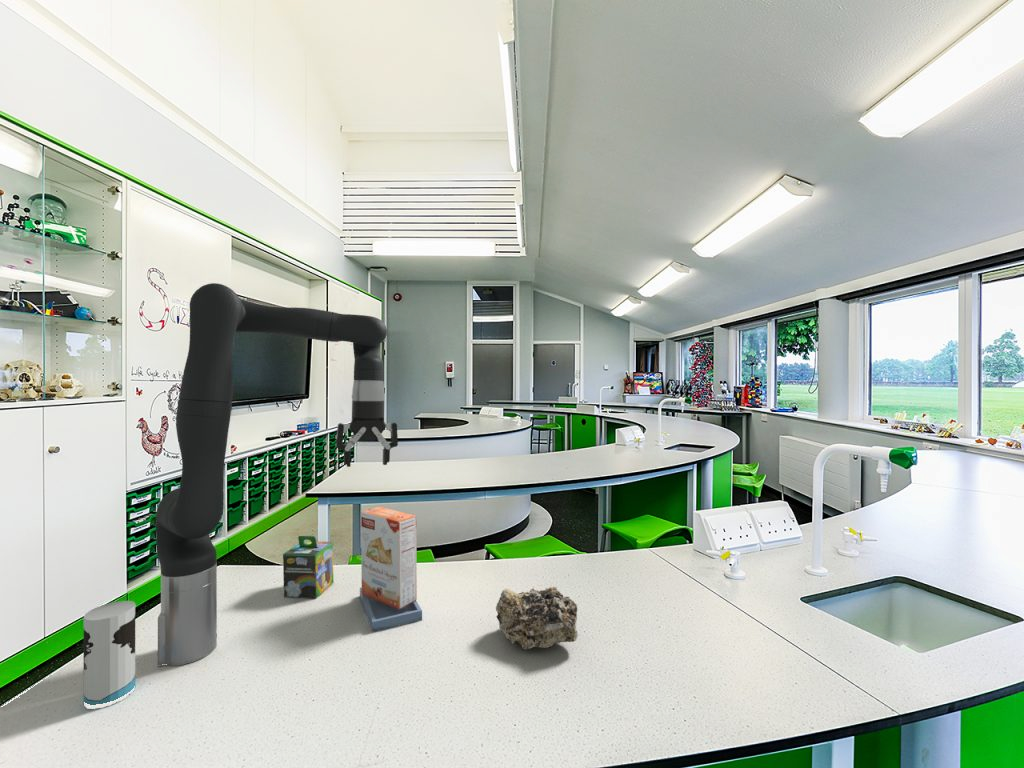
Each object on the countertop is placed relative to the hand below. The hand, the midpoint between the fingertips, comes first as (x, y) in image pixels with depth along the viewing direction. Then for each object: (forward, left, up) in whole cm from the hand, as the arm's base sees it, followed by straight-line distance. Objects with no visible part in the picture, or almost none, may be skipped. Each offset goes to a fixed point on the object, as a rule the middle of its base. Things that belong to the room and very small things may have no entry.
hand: (367, 465), depth 109 cm
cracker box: (+5, -2, -33) cm, 33 cm away
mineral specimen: (+31, -30, -35) cm, 55 cm away
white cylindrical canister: (-45, -12, -35) cm, 58 cm away
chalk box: (-12, +16, -35) cm, 40 cm away
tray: (+5, -3, -35) cm, 35 cm away
